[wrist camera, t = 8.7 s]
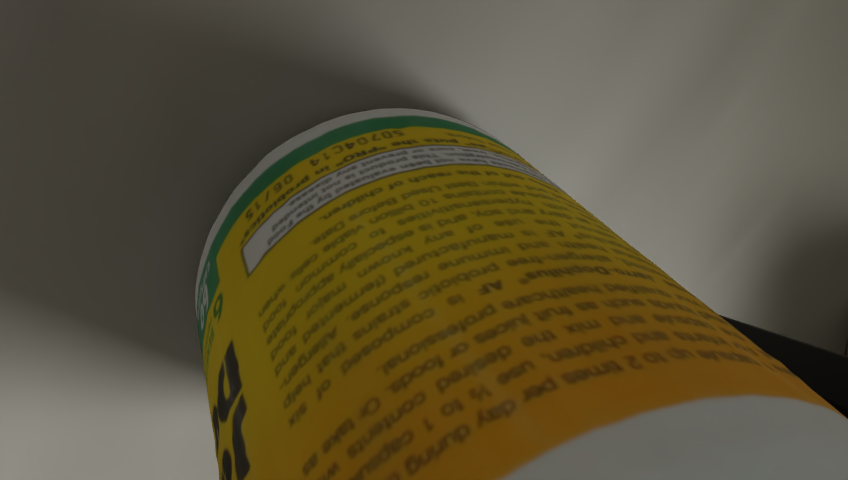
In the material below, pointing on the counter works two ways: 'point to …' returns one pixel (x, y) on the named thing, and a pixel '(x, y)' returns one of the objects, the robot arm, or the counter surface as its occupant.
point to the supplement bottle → (470, 329)
